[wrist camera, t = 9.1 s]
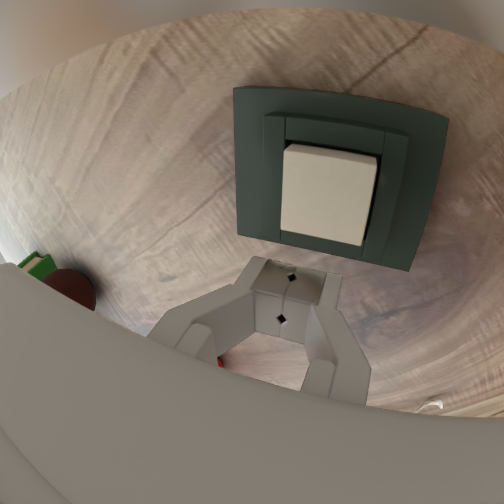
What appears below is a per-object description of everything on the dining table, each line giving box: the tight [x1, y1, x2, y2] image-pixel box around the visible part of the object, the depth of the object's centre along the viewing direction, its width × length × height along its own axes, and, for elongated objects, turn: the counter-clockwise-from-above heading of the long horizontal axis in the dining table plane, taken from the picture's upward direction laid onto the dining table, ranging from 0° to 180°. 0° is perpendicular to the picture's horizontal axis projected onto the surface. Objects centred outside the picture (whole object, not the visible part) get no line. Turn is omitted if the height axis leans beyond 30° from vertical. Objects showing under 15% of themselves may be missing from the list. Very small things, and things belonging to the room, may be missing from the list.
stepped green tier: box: [233, 86, 449, 272], centre depth 16 cm, size 10×12×4 cm
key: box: [281, 144, 377, 246], centre depth 14 cm, size 4×4×2 cm
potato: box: [41, 269, 96, 312], centre depth 35 cm, size 9×12×9 cm
